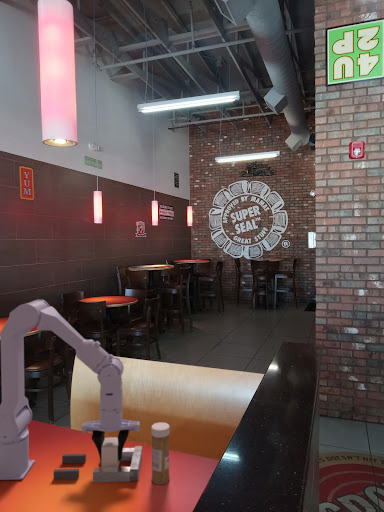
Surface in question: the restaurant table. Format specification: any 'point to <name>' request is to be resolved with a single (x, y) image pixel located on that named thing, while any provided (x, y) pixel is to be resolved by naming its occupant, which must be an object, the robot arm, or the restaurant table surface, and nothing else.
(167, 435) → the sprinkles bottle
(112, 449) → the plug
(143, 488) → the restaurant table surface
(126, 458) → the block
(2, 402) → the robot arm
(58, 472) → the pair of grey blocks
